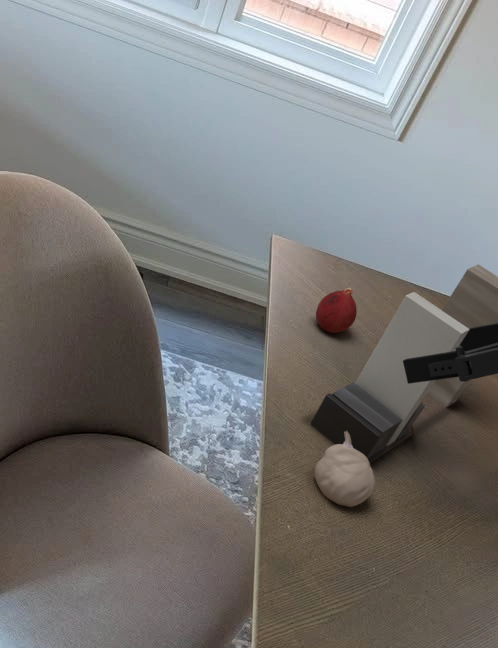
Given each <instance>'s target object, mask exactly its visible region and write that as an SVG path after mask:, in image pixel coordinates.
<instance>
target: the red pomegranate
mask: <svg viewBox="0 0 498 648" xmlns="http://www.w3.org/2000/svg"><path fill="white" fill-rule="evenodd" d="M353 293H354V291H353V288H352V287H346V288H344V289H341V290H335V291H333V292H330V293H328V294H327V295H325V296H324V297H322V299H321V300H320V301H319V303H318V305H317V308H316V311H315V320H316V321H317V325H318V326H319V327H320V328H321V329H322V330H323V331H325V332H326V333H329V334H330V333H331V334H335V333H341V332H345V331H346V330H348V329H349V328H350V327H352V326H353V324H354V323H355V322H356V318H357V312H358V311H357V303H356V301H355V299H354V297H353V296H352V294H353Z"/></svg>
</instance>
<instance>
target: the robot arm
mask: <svg viewBox="0 0 498 648" xmlns="http://www.w3.org/2000/svg"><path fill="white" fill-rule="evenodd" d="M469 329H470V330H469V331H468V333H467V334H466V336H465V337H464V339H463V340H462V342H461V343H460V346H458V347H456V348H455V349H456V351H451V352H445V353H439V354H433V355H427V356H421V357H415V358H409V359H405V360H403V364H404V369H405V373H406V377H407V382H408V384H410V383H417V382H425V381H432V380H439V379H447V378H454V377H459V380H460V381H461V382H463V381H464V382H466V381H469V380H471V381H472V380H476V379H479V378H484V377H489V376H493V375H497V374H498V323H496V324H490V325H485V326H479V327H474V328H469Z"/></svg>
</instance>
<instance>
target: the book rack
mask: <svg viewBox="0 0 498 648" xmlns="http://www.w3.org/2000/svg"><path fill="white" fill-rule="evenodd" d="M441 310H442V311H443V312H445V313H446V314H448V315H449V316H451V317H452V318H454V319H455V320H457V321H458V322H460V323H461V324H463V325H464V326H465V327H467V328H468V329H469V328H474V327H479V326H485V325H490V324H496V323H498V275H496V274H495V273H493V272H491V271H490V270H488V269H487V268H486V267H483V266H482V265H480V264H476V265H474V266H471V267H469V268H467V269H466V271H465V273H464V274H463V275H462V277H461V278H460V280H459V282H458V283H457V285H456V286H455V288H454V290H453V291H452V293H451V295H450V296H449V298H448V299H447V301H446V303H445V304H444V306H443V307H442V309H441ZM459 346H460V345H459ZM471 381H472V379H471V380H469V381H466V382H464V381H463V382H461V381H460V380H459V377H454V378H447V379H439V380H436V381H435V382H434V384H433V385H432V387H431V388H430V390H429V391H428V392H427V394H426V395H427V396H428V397H430V398H431V399H432V400H434V401H435V402H437V403H438V404H440V405H441V406H442V407H443V408H445V409H446V408H448V407H450V406H451V405H453V404H454V403H457V401H458V399H459V398H460V397H461V395H462V393H464V391H465V390H466V388H467V386H468V385H469V384H470V382H471ZM425 408H426V405H425V404H424V403H423V402H421V403H420V404H419V406H418V407H417V409H416V410H415V412H414V413H413V415H412V416H411V418H410V419H409V421H408V422H407V424H406V425H405V427H404V428H403V430H402V431H401V433H400V434H399V436H398V437H397V439H396V440H395V441H394V442H393V443H391V444H390V445H388V446H386V444H387V443H388V441H389V440H390V438H391V437H392V435H393V434H394V432H395V431H396V429H397V428H398V426H399V425H400V423H401V422H402V419H401V418H400V417H398V416H397V415H396V414H394V413H393V412H392V411H390V410H389V409H388V408H386V407H385V406H384V405H383V404H381V403H380V402H379V401H377V400H376V399H375V398H373V397H372V396H371V395H369V394H368V393H367V392H366V391H364V390H363V389H362V388H360V387H359V386H358V385H356V384H355V382H351V383H349V384H347V385H346V386H343V387H341V388H339V389H337V390H336V391H334V392H332V393H331V392H329V393H326V394H325V396H324V398H323V400H322V402H321V404H320V405H319V406H318V409H317V411H316V412H315V415H314V416H313V418H312V419H311V420H309V421H308V422H307V423H308V424H309V426H311V427H312V428H314V429H315V430H316V431H317V432H319V433H320V434H321V435H322V436H323V437H325V438H326V440H328V441H329V442H330V443H332V444H333V445H336V444H343V443H344V441H345V435H344V432H346V431H347V432H348V433H349V435H350V438H351V444H352V446H353V448H354V449H356V450H357V451H359V452H361V453H362V454H364V455H365V456H366V457H367V459H368V461H369V463H370V464H371V463H372V462H374V461H375V460H377V459H378V458H380V457H381V456H383V455H385V454H386V453H387V452H389V451H390V450H392V449H394V448H396V447H397V446H398V445H400V444H401V443H403V442H404V441H407V439H409V438H411V437H412V436H414V426H413V425H414V423H415V422H416V420H417V419H418V418H419V416H420V415H421V413H422V412H423V411H424V409H425Z"/></svg>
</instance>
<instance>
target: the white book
mask: <svg viewBox="0 0 498 648" xmlns="http://www.w3.org/2000/svg"><path fill="white" fill-rule="evenodd" d="M469 330H470V329H468V328H467V327H465V326H464V325H463V324H461V323H460V322H458V321H457V320H455V319H454V318H452V317H451V316H449V315H448V314H446V313H445V312H443V311H442V309H440V308H439V307H437V306H436V305H435V304H432V302H430V301H429V300H427V299H426V298H424V297H423V296H421V295H419V294H418V293H417V292H415V291H413V292H410V293H408V294H406V295H404V297H403V299H402V301H401V303H400V305H399V306H398V308H397V309H396V312H395V313H394V315H393V316H392V318H391V320H390V322H389V324H388V325H387V327H386V329H385V331H384V332H383V334H382V336H381V337H380V339H379V341H378V342H377V344H376V346H375V347H374V350H373V351H372V353H371V355H370V356H369V358H368V360H367V362H366V364H365V365H364V366H363V368H362V370H361V372H360V373H359V375H358V378H357V379H356V380H355V382H354V383H355V384H356V385H358V386H359V387H360V388H362V389H363V390H364V391H366V392H367V393H368V394H369V395H371V396H372V397H373V398H375V399H376V400H377V401H379V402H380V403H381V404H383V405H384V406H385V407H386V408H388V409H389V410H390V411H392V412H393V413H394V414H396V415H397V416H398V417H400V418H401V419H402V422H401V423H400V425H399V426H398V428H397V429H396V431H395V432H394V434H393V435H392V437H391V438H390V440H389V441H388V443H387V444H386V446H388V445H390V444H391V443H393V442H394V441H395V440H396V439H397V437H398V436H399V434H400V433H401V431H402V430H403V428H404V427H405V425H406V424H407V422H408V421H409V419H410V418H411V416H412V415H413V413H414V412H415V410H416V409H417V407H418V406H419V404H420V403H422V401H423V400H424V398H425V397H426V395H427V392H428V391H429V390H430V388H431V387H432V385H433V384H434V382H435V381H436V380H432V381H425V382H417V383H410V384H408V382H407V377H406V373H405V369H404V364H403V360H405V359H409V358H415V357H421V356H427V355H433V354H439V353H445V352H451V351H456V349H455V348H456V347H458V346H459V345H460V343H461V342H462V340H463V339H464V337H465V336H466V334H467V333H468V331H469Z"/></svg>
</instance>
